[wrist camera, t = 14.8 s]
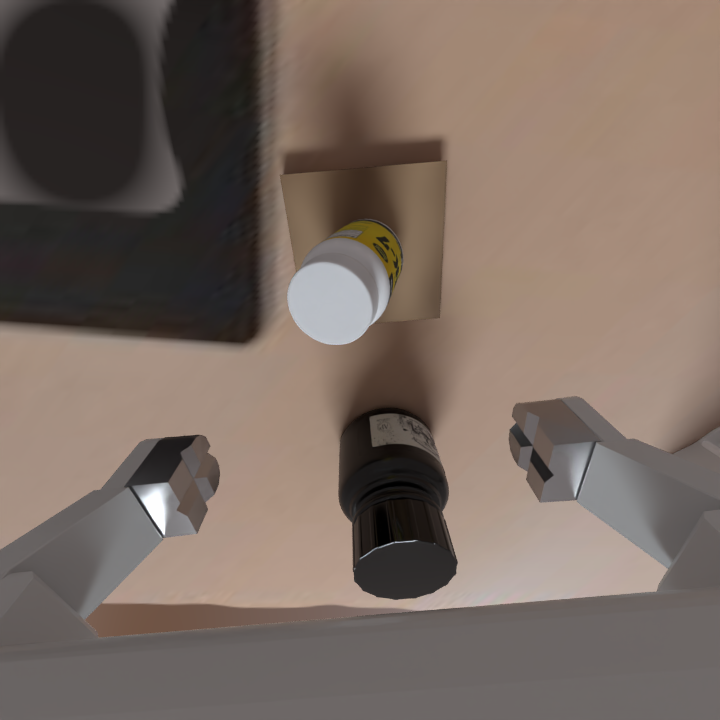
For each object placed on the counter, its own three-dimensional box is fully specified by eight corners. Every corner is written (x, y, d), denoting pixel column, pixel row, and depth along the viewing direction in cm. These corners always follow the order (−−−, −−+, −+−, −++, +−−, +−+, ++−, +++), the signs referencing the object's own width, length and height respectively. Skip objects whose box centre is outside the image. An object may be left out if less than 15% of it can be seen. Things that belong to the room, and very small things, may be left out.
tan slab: (438, 162, 21) (446, 160, 19) (433, 308, 26) (439, 318, 24) (285, 175, 21) (279, 174, 19) (308, 319, 26) (305, 329, 24)
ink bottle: (451, 444, 32) (503, 573, 21) (384, 488, 34) (400, 622, 24) (387, 385, 28) (411, 505, 18) (317, 439, 31) (302, 571, 20)
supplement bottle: (409, 286, 21) (390, 350, 15) (343, 295, 23) (298, 357, 16) (397, 209, 19) (367, 242, 12) (325, 225, 21) (262, 262, 14)
